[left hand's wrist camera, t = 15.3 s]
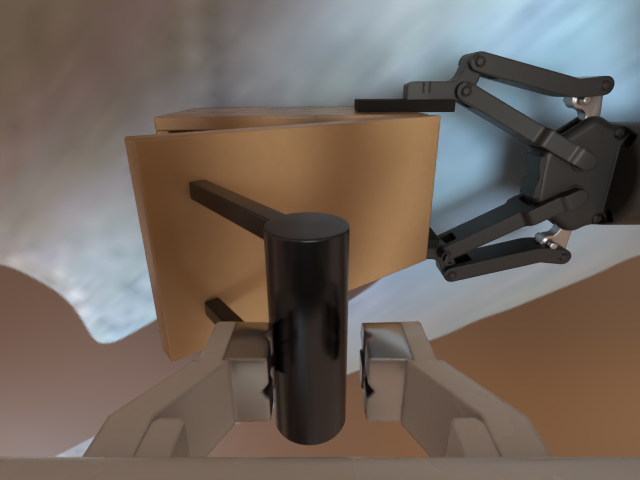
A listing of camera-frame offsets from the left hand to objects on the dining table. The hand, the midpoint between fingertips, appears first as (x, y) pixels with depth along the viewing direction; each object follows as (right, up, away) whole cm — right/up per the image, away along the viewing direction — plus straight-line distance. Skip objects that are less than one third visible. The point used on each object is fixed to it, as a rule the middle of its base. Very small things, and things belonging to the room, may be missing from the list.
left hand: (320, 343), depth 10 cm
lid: (0, +4, +10) cm, 11 cm away
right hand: (+3, +8, +19) cm, 21 cm away
